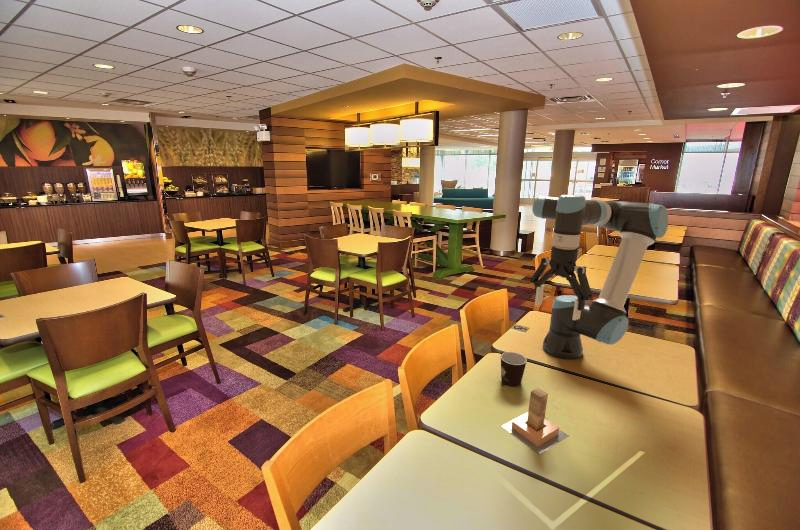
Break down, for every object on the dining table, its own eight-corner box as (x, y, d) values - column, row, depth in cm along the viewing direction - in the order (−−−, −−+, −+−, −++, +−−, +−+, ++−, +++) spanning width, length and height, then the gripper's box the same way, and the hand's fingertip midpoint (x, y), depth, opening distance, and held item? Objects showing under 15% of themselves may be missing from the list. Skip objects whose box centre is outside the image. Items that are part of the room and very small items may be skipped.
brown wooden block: (533, 423, 108) (538, 387, 105) (542, 430, 106) (548, 393, 103) (526, 427, 107) (530, 391, 103) (535, 434, 104) (540, 397, 101)
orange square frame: (531, 416, 113) (532, 410, 112) (558, 434, 105) (559, 427, 105) (511, 427, 108) (512, 420, 107) (537, 446, 101) (538, 440, 100)
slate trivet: (530, 413, 115) (530, 410, 115) (568, 438, 105) (569, 435, 105) (501, 428, 109) (501, 426, 108) (539, 457, 98) (539, 454, 98)
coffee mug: (525, 392, 126) (528, 366, 123) (498, 389, 127) (501, 363, 125) (521, 374, 137) (524, 349, 134) (497, 371, 138) (499, 346, 136)
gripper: (523, 240, 122) (517, 301, 127) (598, 257, 102) (586, 328, 107) (538, 238, 126) (531, 297, 131) (612, 253, 106) (601, 323, 111)
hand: (556, 311), depth 119 cm, fingers open, 13 cm apart
